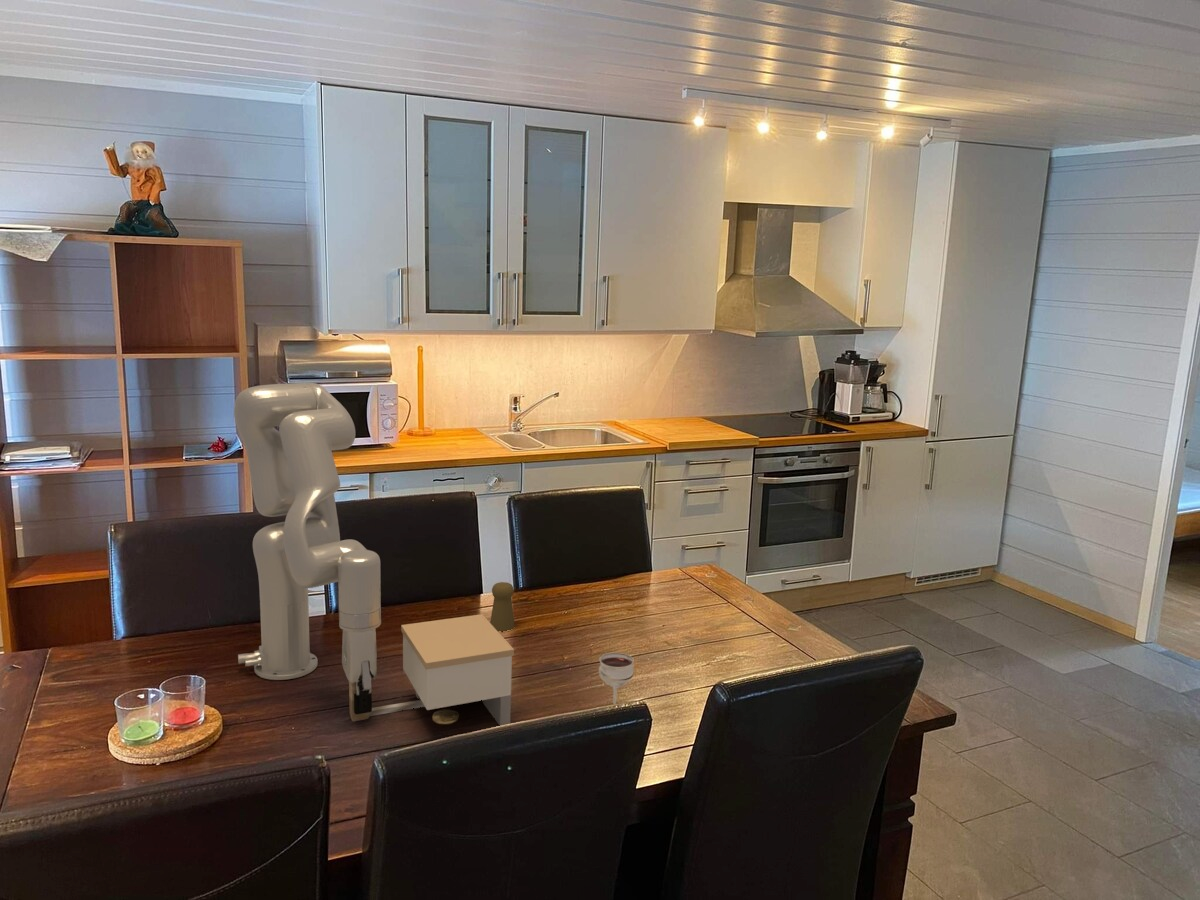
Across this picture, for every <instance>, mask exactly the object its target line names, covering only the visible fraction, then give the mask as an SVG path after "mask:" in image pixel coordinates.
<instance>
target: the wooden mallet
mask: <svg viewBox="0 0 1200 900" xmlns="http://www.w3.org/2000/svg"><path fill="white" fill-rule="evenodd" d="M360 677H362V676H360ZM360 677H359V678H360ZM348 685H349V686H348V690H349V692H348V694H349V695H348V696H349V698H348V699H349V701H348V703H349V705H348V706H349V708H348V709H349V717H350V719H351V722H357V721H358V722H359V721H363V720H369V718H370V717H373V716H378V715H379V716H381V715H384V714H390V713H396V712H402V710H403V711H409V710H414V709H420V707H421V708H426V707H425V706H424V704H423V702H422V701H421V699H419V700H418V699H417V700H411V701H406V702H405V701H404V702H399V703H395V704H394V703H393V704H386V705H381V706H376V707H372V711H371V712H368V713H362V714H355V713H354V694H356V692H355V682H354V683H350V682H349V681H348ZM360 685H362V682H361V683H359V686H360ZM413 708H414V709H413Z"/></svg>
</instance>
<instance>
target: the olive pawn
mask: <svg viewBox="0 0 1200 900" xmlns="http://www.w3.org/2000/svg"><path fill="white" fill-rule="evenodd" d="M514 592H515V590H514V586H513V584H511V583H510V582H507V581H505V582H503V581H499V582H497V583H495V584H493V586H492V588H491V593H492V596H493V602H492V609H491V616H490V621H489V622H490V623H491V625H492V626H493V627H494V628H495V629H496V630H497V631H507V630H511V629H513V628H514V627H516V626H515V619H514V611H513V610H514V609H513V600H512V597H513V596H514ZM514 629H515V628H514ZM514 629H513V630H514ZM511 631H512V630H511Z"/></svg>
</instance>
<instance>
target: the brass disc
mask: <svg viewBox="0 0 1200 900" xmlns="http://www.w3.org/2000/svg"><path fill="white" fill-rule="evenodd" d="M431 716H432V721H433V722H434V723H435V724H439V725H451V724H454V723H456V722H457V721H458V720H459V719H460V713H459V712H458V711H457V710H453V709H448V708H446V709H445V708H444V709H439V710H437V711H435V712H434V713H433V714H432V715H431Z"/></svg>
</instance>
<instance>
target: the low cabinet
mask: <svg viewBox="0 0 1200 900" xmlns="http://www.w3.org/2000/svg"><path fill="white" fill-rule="evenodd" d="M400 625H401V626H400V631H401V633H402V670H403V672H404V674H405V676H407V679H408V680H409V682H410V683H411V685H412V687H413V689H414V691H415V696H416V698H418V699H419V700H421V701H422V702H423V704H424V706H425V707H424V708H425V710H427V711H430V710H431V711H432V710H435V709H440V708H447V707H451V706H452V707H453V706H457V705H463V704H469V703H474V702H479V701H481V700H482V701H481V702H482V703H483V706H485V707H486V709H487V710H488V711H489V714H491V716H492V717H493V719H494V718H495V719H494V721H496V723H497V724H498V725H499V726H500V725H502V724H506V723H510V724H511V711H512V710H511V708H512V707H511V706H512V672H513V671H512V667H513V666H512V665H513V664H512V663H513V661H512V660H513V659H512V657H513V656H515V648H513V647H512V646H511V644H510V643H509V642H508V641H507V640H506V639H505V638H504V637H503V635H501V632H498V631H497V630H496V629H495V628H494V627H493V626H492V625H491V623H490V621H489V620H488V619H487V618H486V617H485V616H484V614H483V613H481V614H480V613H479V614H473V615H466V616H460V617H452V618H444V619H437V620H431V621H429V620H428V621H421V622H414V623H407V624H400ZM418 699H417V700H418Z"/></svg>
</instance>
